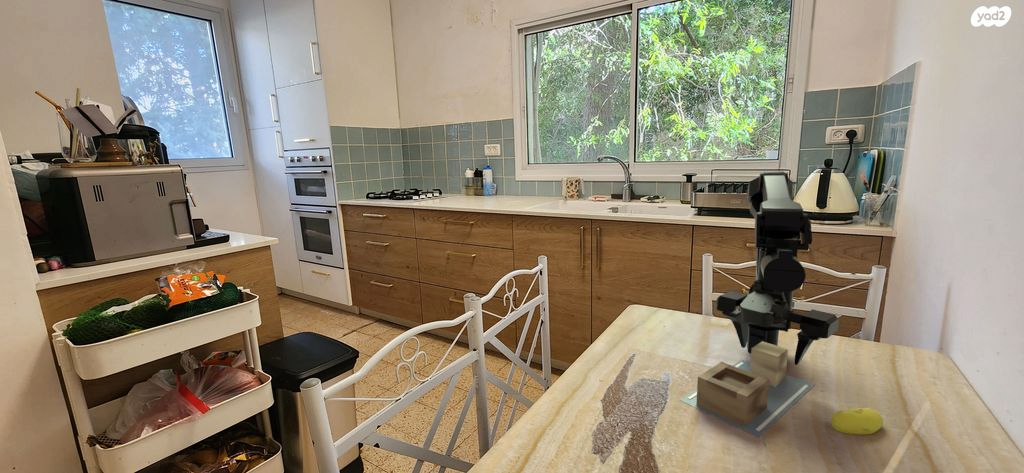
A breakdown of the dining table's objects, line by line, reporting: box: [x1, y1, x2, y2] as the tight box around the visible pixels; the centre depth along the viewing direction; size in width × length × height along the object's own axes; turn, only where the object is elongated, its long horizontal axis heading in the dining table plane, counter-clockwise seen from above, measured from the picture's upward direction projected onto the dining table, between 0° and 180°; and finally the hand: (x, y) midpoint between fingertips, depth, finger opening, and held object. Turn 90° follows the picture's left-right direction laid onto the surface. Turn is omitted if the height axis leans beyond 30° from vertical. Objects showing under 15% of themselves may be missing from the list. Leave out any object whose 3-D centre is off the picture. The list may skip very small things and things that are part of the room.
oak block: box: [750, 341, 789, 387], centre depth 80 cm, size 4×4×6 cm
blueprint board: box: [679, 359, 816, 438], centre depth 76 cm, size 23×13×1 cm, turn 127°
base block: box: [696, 361, 769, 427], centre depth 72 cm, size 8×8×5 cm
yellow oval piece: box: [831, 407, 884, 435], centre depth 66 cm, size 4×8×4 cm, turn 94°
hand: (769, 355), depth 80 cm, fingers open, 9 cm apart
